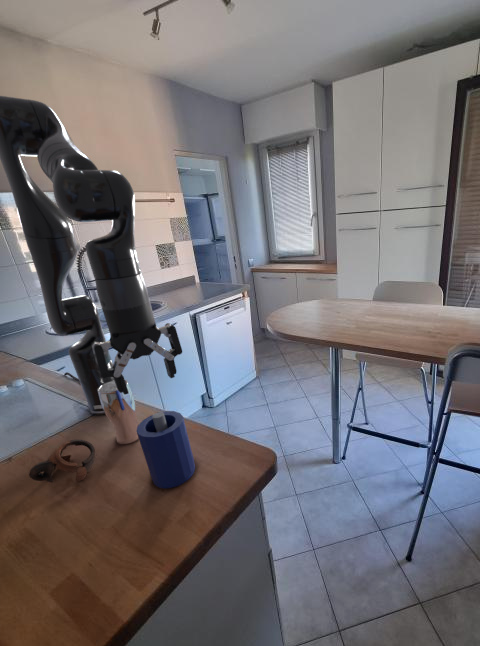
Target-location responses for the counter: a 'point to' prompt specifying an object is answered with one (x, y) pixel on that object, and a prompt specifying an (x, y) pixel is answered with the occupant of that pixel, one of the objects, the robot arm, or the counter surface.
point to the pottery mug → (64, 463)
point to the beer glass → (119, 411)
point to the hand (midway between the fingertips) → (149, 384)
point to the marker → (159, 421)
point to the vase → (167, 450)
